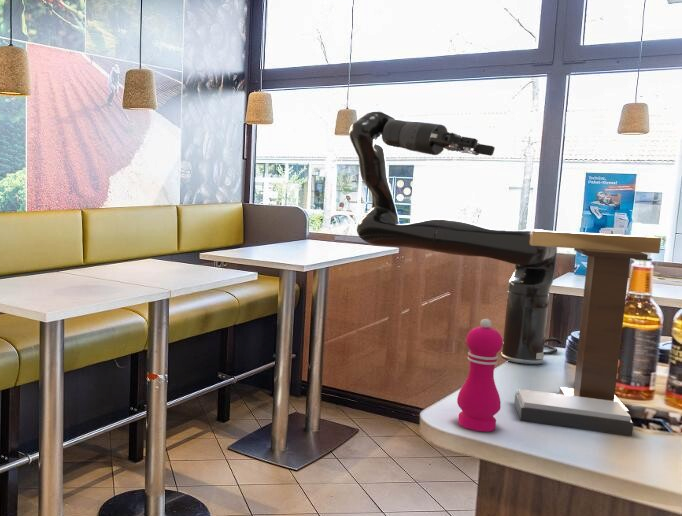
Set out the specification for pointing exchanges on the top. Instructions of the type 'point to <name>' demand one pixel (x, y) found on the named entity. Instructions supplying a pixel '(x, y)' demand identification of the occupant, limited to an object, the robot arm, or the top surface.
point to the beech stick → (595, 241)
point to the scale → (573, 412)
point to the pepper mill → (480, 380)
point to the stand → (601, 323)
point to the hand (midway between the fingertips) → (484, 147)
